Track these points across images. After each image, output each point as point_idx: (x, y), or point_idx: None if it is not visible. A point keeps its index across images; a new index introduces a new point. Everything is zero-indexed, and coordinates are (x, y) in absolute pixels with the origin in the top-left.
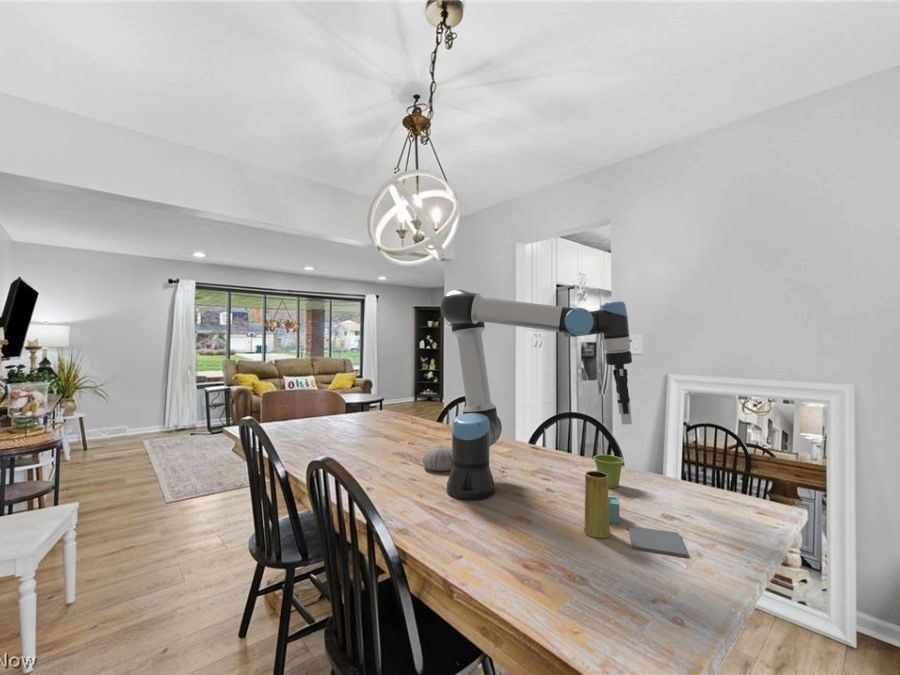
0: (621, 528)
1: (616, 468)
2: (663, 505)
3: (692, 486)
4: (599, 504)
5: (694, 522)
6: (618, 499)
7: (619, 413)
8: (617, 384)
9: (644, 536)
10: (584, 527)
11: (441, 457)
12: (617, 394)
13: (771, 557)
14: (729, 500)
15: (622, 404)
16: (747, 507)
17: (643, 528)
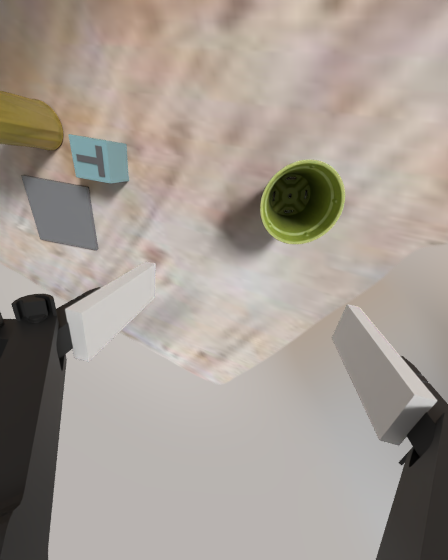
0: None
1: (267, 216)
2: (198, 264)
3: (290, 329)
4: None
5: None
6: (101, 181)
7: (348, 307)
8: (420, 534)
9: (60, 201)
10: (36, 100)
11: None
12: (411, 396)
13: None
14: (237, 346)
15: (58, 313)
16: (217, 351)
17: (86, 207)
